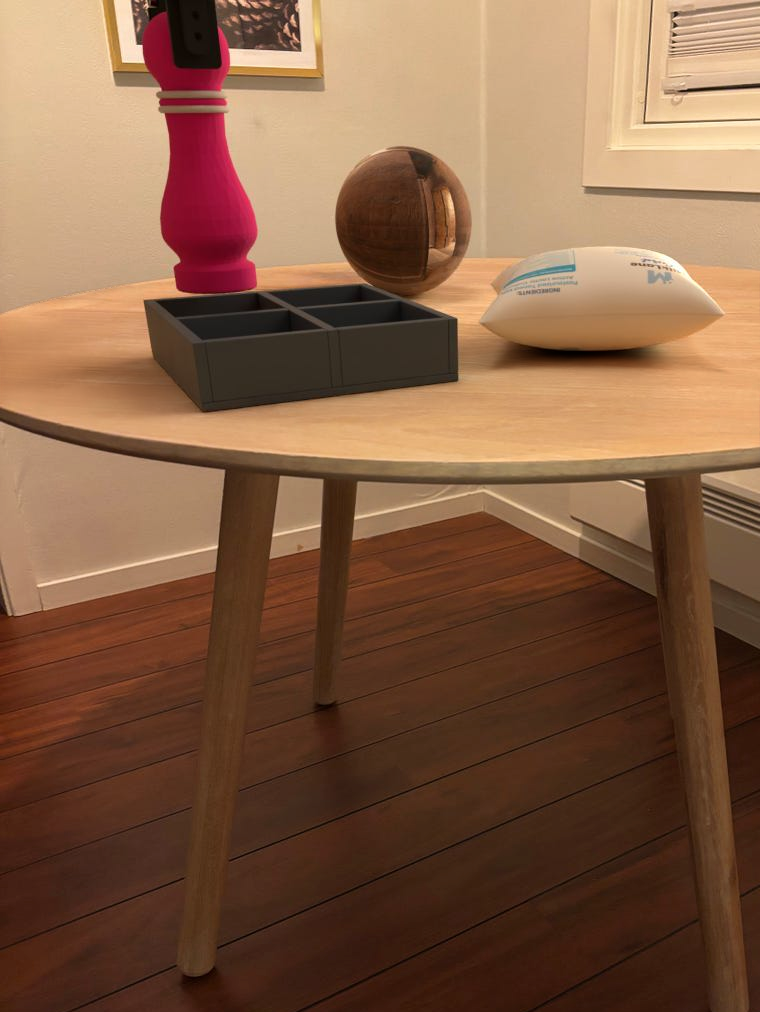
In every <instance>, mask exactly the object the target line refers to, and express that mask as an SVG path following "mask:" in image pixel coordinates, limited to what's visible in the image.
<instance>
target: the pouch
mask: <svg viewBox="0 0 760 1012" xmlns="http://www.w3.org/2000/svg"><path fill="white" fill-rule="evenodd" d="M490 286H491V287H492V289H493V290H494V292H495V293H496V295H497V296H496V297H495V298H494V300H493V301H492V302H491V304H490V305H489V306H488V308H487V309H486V310H485V312H484V313H483V315H481V317H480V319H479V320H478V322H477V323H478V324H480V325H481V326H482V327H484V328H485V329H486V330H488V331H489V332H491V333H492V334H494V335H496V336H497V337H500V338H502V339H504V340H507V341H510V342H513V343H515V344H520V345H524V346H529V347H534V348H539V349H546V350H555V351H573V352H574V351H577V352H578V351H579V352H581V351H582V352H584V351H585V352H586V351H587V352H588V351H589V352H590V351H593V352H594V351H595V352H596V351H597V352H598V351H616V350H619V351H620V350H629V349H638V348H645V347H652V346H656V345H661V344H667V343H669V342H674V341H678V340H681V339H684V338H686V337H689V336H692V335H694V334H696V333H698V332H701V331H702V330H704V329H706V328H708V327H709V326H711V325H712V324H714V323H716V322H717V321H718V320H720V319H722V317H724V316H726V313H725V312H724V310H723V309H721V307H720V306H719V305H718V303H717V302H716V301H715V300H714V299H713V298H712V297H711V296H710V295H709V293H707V292H706V290H704V288H703V287H702V286H700V285H699V284H698V283H697V282H696V281H695V280H693V278H691V276H690V275H689V273H688V272H687V271H686V270H685V269H684V267H683V266H682V265H681V264H680V263H678V262H677V261H676V260H674V259H673V258H671V257H670V256H668V255H665V254H663V253H660V252H658V251H654V250H649V249H644V248H638V247H629V246H582V247H571V248H563V249H556V250H549V251H545V252H541V253H536V254H533V255H530V256H528V257H525V258H523V259H521V260H518V261H516V262H514V263H513V264H511V265H510V266H508V267H506V268H505V269H503V270H502V271H501V272H500V273H499V274H498V275H497V276H496V277H495V279H493V280H492V282H491V283H490Z"/></svg>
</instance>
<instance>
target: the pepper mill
mask: <svg viewBox="0 0 760 1012" xmlns="http://www.w3.org/2000/svg"><path fill="white" fill-rule="evenodd" d="M218 33H219V41H220V50H221V59H222V66H221V67H220V68H219V69H179V68H177V67H176V66H175V65H174V62H173V56H172V48H171V41H170V34H169V26H168V19H167V12H163V13H160V14H158V15H157V16H155V17H154V18H153V19H152V20H151V21H150V22H149V21H148V23H147V24H146V26H145V29H144V30H143V35H142V40H141V47H142V56H143V62H144V65H145V67H146V69H147V71H148V72H149V74H150V75H151V76H152V77H153V79H154V80H155V81H156V82H157V83H158V85H159V87H160V90H159V91H157V92H156V93H155V96H156V98H157V99H158V104H159V106H158V108H157V111H158V112H159V113H160V114H164V118H165V123H166V129H167V133H168V144H169V161H168V162H169V163H168V171H167V178H166V182H165V186H164V191H163V195H162V198H161V202H160V203H161V205H160V213H159V214H160V215H159V222H160V223H159V225H160V233H161V237H162V240H163V241H164V243H165V244H166V245H167V247H169V249H171V251H172V252H174V253H175V254H176V256H177V258H178V259H179V262H178V263H176V264H174V266H173V267H172V268H173V274H174V281H175V288H176V289H177V291H178V292H181V293H184V294H192V295H214V294H227V293H241V292H248V291H252V290H254V289H255V288H257V287H258V279H257V278H258V277H257V269H256V264H255V262H253V261H252V260H249V259H247V257H248V254H249V252H250V251H251V249H252V248H253V246H254V245H255V243H256V241H257V239H258V232H259V229H258V224H257V218H256V214H255V211H254V207H253V206H252V203H251V200H250V198H249V196H248V193H247V192H246V190H245V188H244V186H243V184H242V182H241V180H240V178H239V176H238V173H237V171H236V168H235V166H234V163H233V161H232V156H231V154H230V151H229V146H228V145H229V144H228V140H227V135H226V121H225V120H226V119H225V114H228V113H229V112H230V108H229V106H228V101H227V100H226V99H227V98H228V93H227V92H226V91H222V87H223V84H224V81H225V79H226V77H227V75H228V74H229V71H230V68H231V54H230V48H229V44H228V41H227V39H226V38H227V37H226V36H225V34H224V32H223V30H222V29H221V27H219V26H218Z"/></svg>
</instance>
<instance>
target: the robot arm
mask: <svg viewBox="0 0 760 1012" xmlns="http://www.w3.org/2000/svg"><path fill="white" fill-rule="evenodd" d="M146 4H147V7H146V10H147V11H146V12H147V17H148V23H149V22H150V21H151V20H152V19H153V18H154V17H155V16H157V15H158V14H160V13H163V12H167V19H168V26H169V34H170V41H171V48H172V56H173V62H174V65H175V66H176V67H177V68H179V69H219V68H220V67H221V66H222V59H221V50H220V41H219V33H218V27H219V25H218V24H219V23H218V16H217V8H216V0H146Z"/></svg>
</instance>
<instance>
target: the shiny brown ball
mask: <svg viewBox="0 0 760 1012" xmlns="http://www.w3.org/2000/svg"><path fill="white" fill-rule="evenodd" d="M334 221H335V222H334V223H335V224H334V225H335V232H336V236H337V240H338V244H339V247H340V249H341V252H342V254H343V255H344V258H345V260H346V261H347V263H348V265H349V266H350V267H351V268H352V269H353V271H354V272H355V273H356V274H357V275H358V277H360V278H361V279H362V280H363V281H365V282H366V283H367V284H368V285H371V286H374V287H376V288H379V289H382V290H384V291H387V292H389V293H392V294H395V295H398V296H410V295H411V296H412V295H418V294H422V293H426V292H428V291H431V290H433V289H435V288H436V287H439V286H440V285H442V284H443V283H445V282H446V281H447V280H448V279H449V278H450V277H452V275H453V274H454V273H455V272H456V270H457V269H458V268H459V267H460V265H461V263H462V262H463V260H464V257H465V255H466V254H467V252H468V249H469V245H470V241H471V236H472V221H473V220H472V210H471V205H470V201H469V198H468V195H467V192H466V189H465V188H464V186H463V184H462V182H461V180H460V178H459V177H458V176H457V174H456V173H455V171H454V170H453V169H452V168H451V167H450V166H449V165H448V164H446V162H444V161H443V160H442V159H441V158H439V157H438V156H436V155H434V154H433V153H432V152H431V153H430V152H428V151H426V150H424V149H421V148H418V147H414V146H407V145H406V146H405V145H397V146H390V147H384V148H381V149H378V150H376V151H374V152H372V153H370V154H369V155H367V156H365V157H364V158H363V159H361V160H360V161H359V162H358V163H356V165H355V166H354V167H353V168H352V169H351V170H350V172H349V173H348V175H347V176H346V178H345V180H344V181H343V183H342V184H341V187H340V190H339V193H338V196H337V199H336V204H335V213H334Z"/></svg>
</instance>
